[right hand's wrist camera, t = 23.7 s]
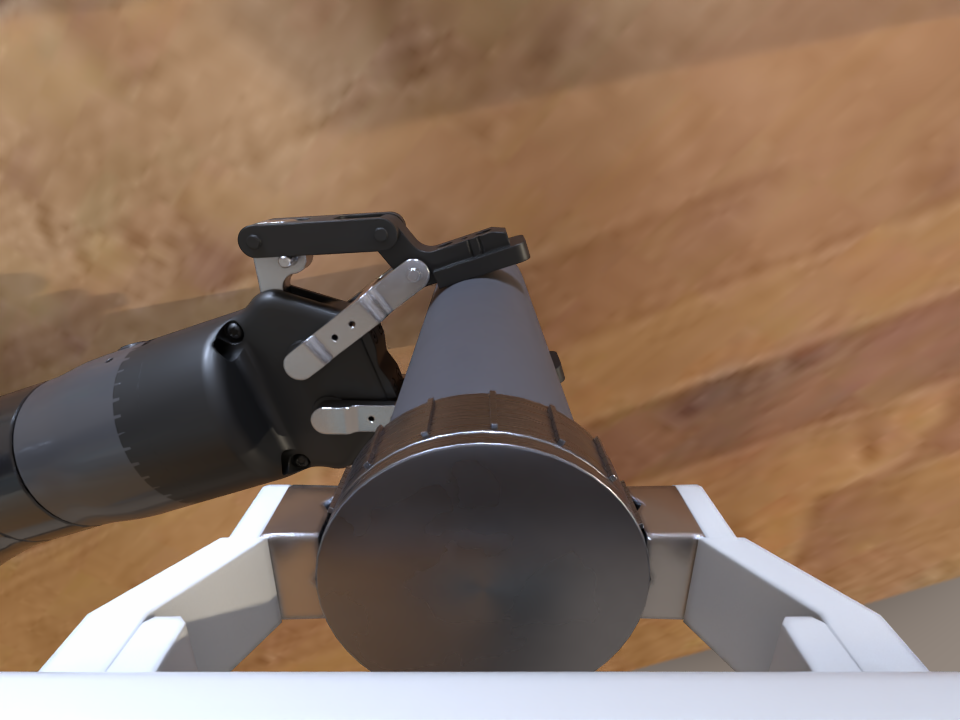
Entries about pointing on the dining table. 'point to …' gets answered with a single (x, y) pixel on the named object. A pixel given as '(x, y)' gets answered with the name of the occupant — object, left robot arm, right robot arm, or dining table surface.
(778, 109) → the dining table surface
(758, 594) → the right robot arm
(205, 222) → the dining table surface
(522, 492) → the lid
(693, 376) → the dining table surface
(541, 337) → the dark grey cylinder
